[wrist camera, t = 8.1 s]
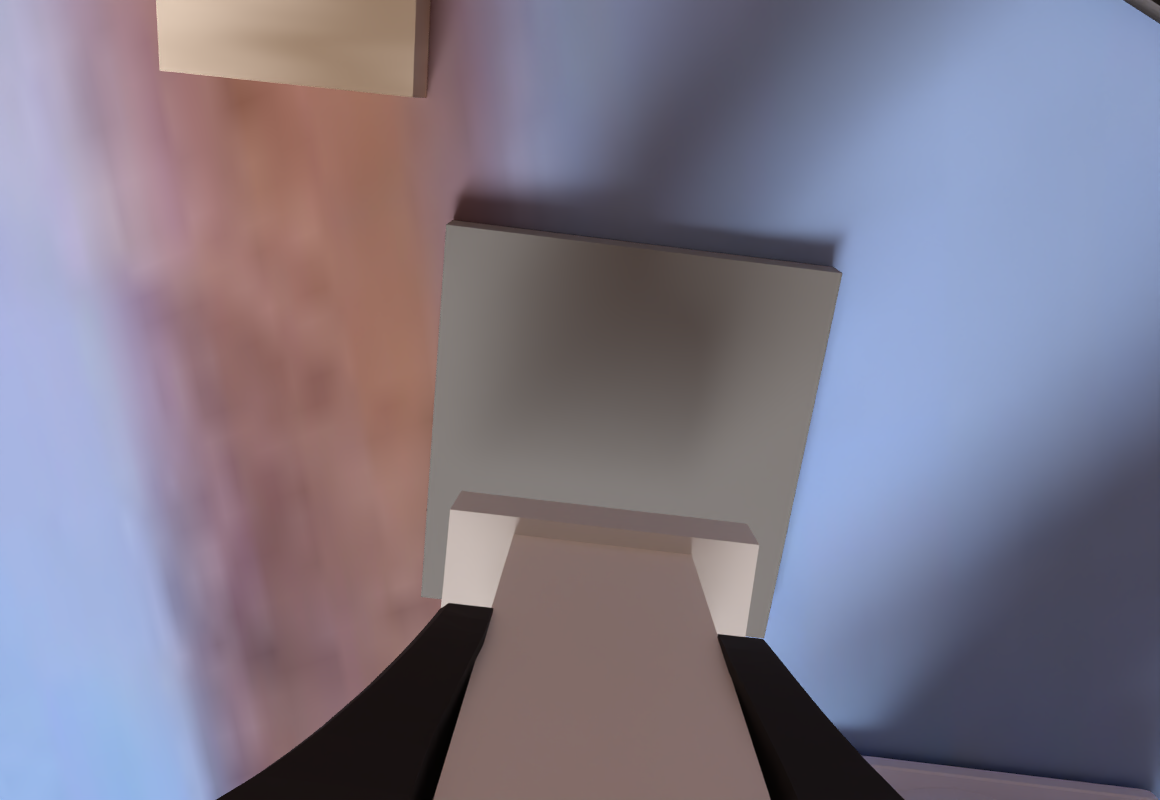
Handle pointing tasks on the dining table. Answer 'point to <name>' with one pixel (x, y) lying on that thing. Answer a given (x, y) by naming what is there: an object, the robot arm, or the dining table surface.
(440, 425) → the slate mat
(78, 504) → the dining table surface
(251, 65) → the wooden block
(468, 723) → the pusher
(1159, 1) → the phone
